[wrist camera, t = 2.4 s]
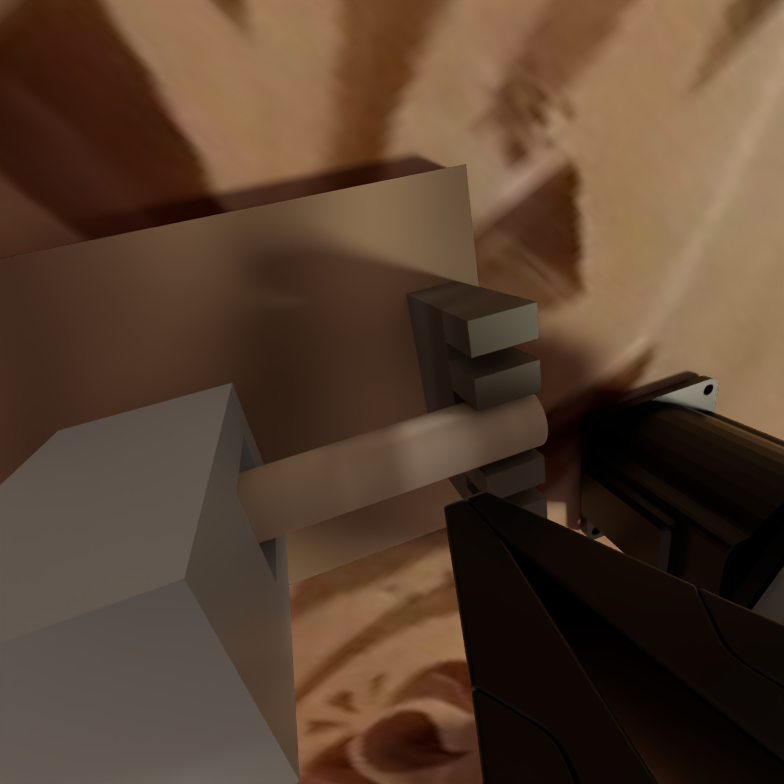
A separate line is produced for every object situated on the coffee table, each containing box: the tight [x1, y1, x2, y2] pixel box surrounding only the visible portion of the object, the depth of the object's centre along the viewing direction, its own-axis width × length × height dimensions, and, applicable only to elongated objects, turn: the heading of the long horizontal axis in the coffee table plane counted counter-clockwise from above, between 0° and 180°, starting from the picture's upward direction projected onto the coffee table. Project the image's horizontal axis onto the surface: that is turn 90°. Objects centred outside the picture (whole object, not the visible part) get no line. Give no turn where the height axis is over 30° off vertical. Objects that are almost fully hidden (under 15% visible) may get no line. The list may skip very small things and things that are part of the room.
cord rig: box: [0, 164, 548, 585], centre depth 9 cm, size 25×12×6 cm, turn 101°
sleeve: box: [0, 383, 300, 784], centre depth 8 cm, size 4×4×6 cm
